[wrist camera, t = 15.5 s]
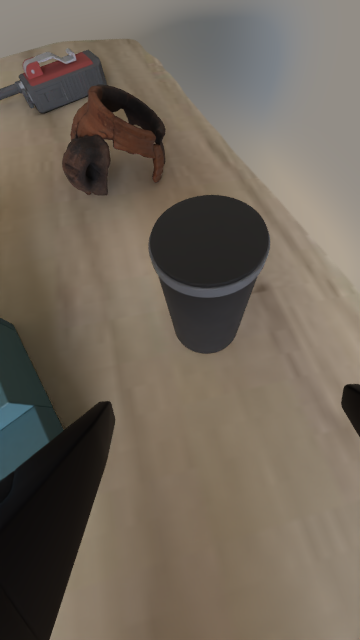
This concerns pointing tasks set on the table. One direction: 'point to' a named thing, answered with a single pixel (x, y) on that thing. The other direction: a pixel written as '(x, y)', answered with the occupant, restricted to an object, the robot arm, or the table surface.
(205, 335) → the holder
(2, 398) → the step shelf
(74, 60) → the walkie-talkie
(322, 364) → the table surface
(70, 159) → the brown looped band
